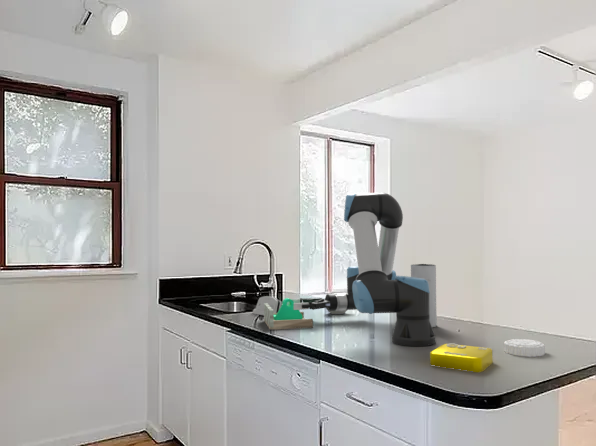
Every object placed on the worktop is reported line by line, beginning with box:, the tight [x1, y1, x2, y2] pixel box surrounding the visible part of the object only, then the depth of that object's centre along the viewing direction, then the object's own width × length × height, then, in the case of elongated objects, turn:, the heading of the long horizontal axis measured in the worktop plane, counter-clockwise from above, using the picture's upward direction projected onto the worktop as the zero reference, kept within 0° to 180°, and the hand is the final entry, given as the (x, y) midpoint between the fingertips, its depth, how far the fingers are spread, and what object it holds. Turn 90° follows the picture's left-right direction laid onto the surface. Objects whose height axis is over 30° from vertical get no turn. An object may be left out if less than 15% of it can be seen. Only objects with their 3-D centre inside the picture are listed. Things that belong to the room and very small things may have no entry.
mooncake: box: [503, 338, 546, 358], centre depth 162 cm, size 12×12×4 cm
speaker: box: [410, 263, 438, 328], centre depth 212 cm, size 11×10×26 cm
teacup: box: [328, 310, 348, 315], centre depth 249 cm, size 14×11×8 cm
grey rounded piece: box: [252, 295, 283, 316], centre depth 251 cm, size 17×5×10 cm, turn 39°
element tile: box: [429, 343, 494, 373], centre depth 149 cm, size 15×15×5 cm
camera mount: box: [274, 297, 303, 320], centre depth 223 cm, size 12×8×10 cm, turn 107°
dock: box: [263, 303, 314, 331], centre depth 221 cm, size 22×18×8 cm
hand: (289, 304), depth 221 cm, fingers open, 13 cm apart
